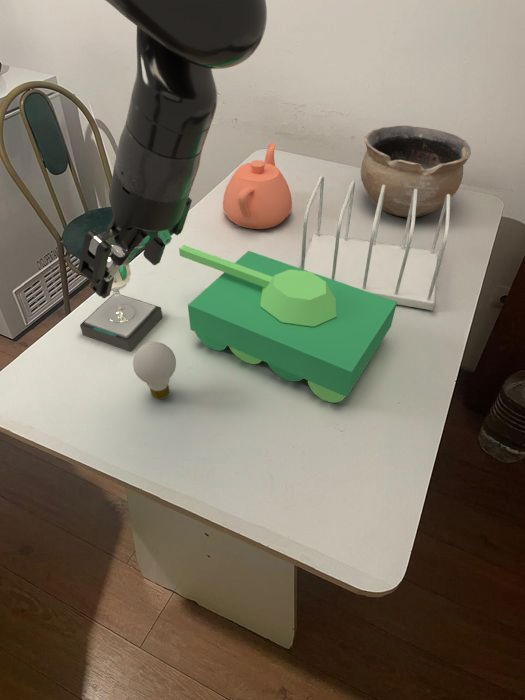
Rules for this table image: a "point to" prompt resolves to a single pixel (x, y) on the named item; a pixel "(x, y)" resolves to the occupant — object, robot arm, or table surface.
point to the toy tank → (290, 320)
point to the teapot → (258, 194)
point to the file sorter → (376, 257)
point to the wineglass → (119, 282)
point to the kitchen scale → (125, 332)
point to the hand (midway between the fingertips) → (126, 275)
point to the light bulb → (155, 367)
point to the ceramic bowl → (412, 167)
